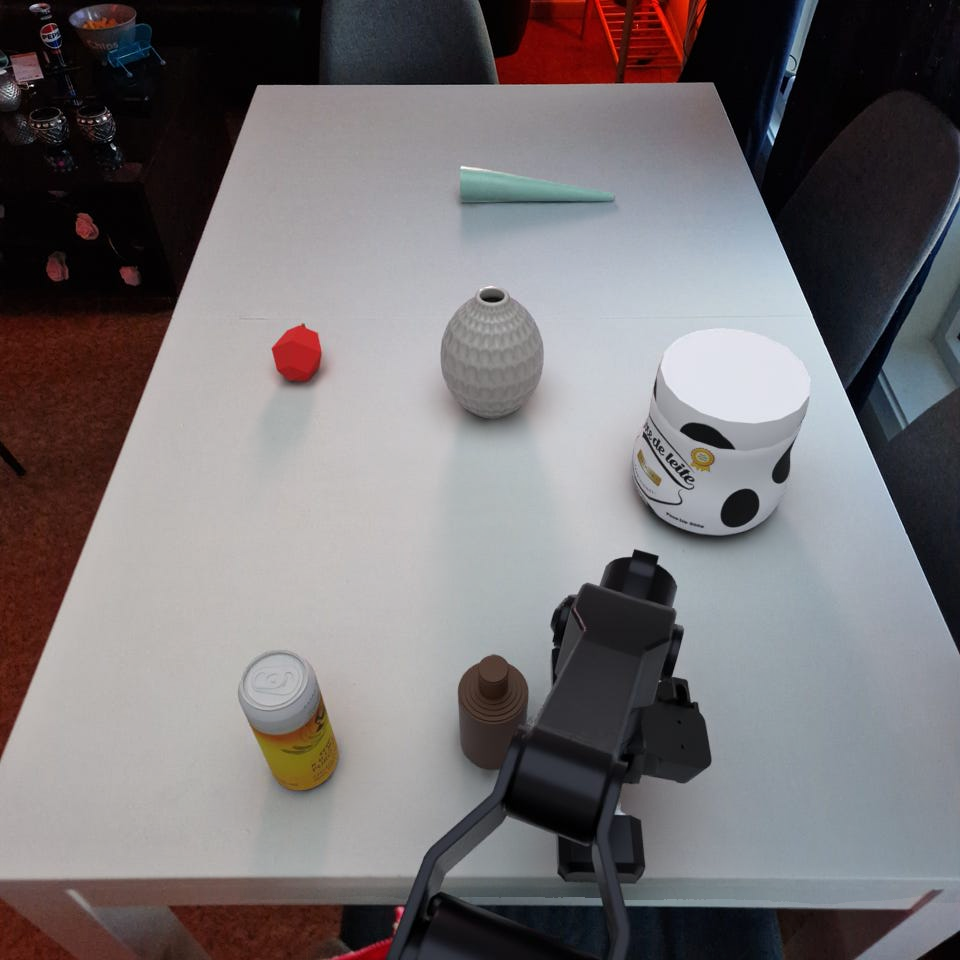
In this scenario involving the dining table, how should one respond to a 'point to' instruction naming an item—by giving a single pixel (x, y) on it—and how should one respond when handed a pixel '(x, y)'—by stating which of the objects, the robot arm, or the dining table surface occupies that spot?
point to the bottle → (491, 710)
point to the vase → (492, 354)
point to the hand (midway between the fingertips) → (584, 794)
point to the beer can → (289, 718)
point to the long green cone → (520, 188)
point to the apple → (297, 353)
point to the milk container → (720, 431)
